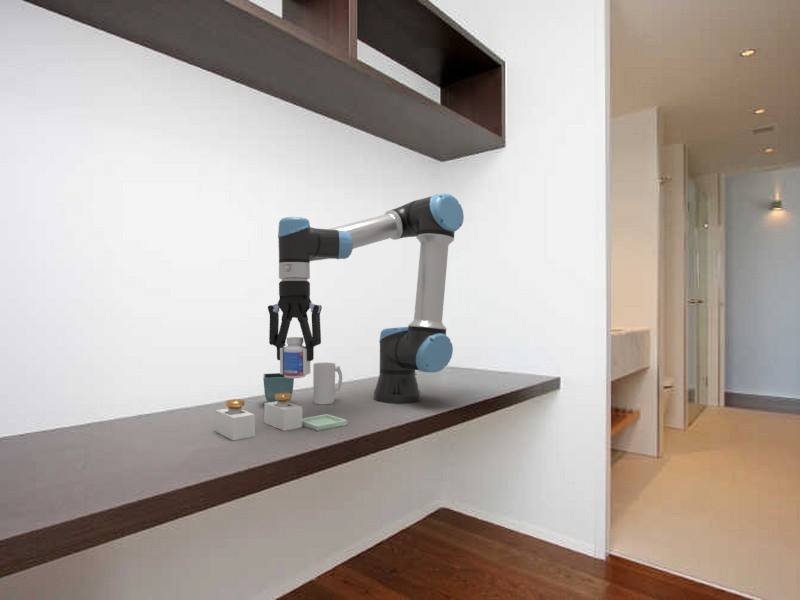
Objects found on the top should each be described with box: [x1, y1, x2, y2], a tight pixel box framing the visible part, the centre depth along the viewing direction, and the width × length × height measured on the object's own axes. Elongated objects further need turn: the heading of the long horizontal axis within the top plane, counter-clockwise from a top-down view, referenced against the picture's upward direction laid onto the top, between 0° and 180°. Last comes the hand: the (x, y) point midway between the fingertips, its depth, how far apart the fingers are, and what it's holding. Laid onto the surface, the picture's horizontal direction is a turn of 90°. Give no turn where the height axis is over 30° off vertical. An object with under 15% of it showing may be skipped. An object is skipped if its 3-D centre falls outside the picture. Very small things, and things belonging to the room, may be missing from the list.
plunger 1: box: [225, 398, 245, 415], centre depth 109 cm, size 4×4×7 cm
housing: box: [214, 401, 304, 441], centre depth 113 cm, size 18×10×5 cm, turn 133°
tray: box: [302, 413, 348, 432], centre depth 118 cm, size 9×9×1 cm
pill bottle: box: [284, 336, 307, 379], centre depth 116 cm, size 6×5×10 cm
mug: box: [312, 362, 343, 405], centre depth 146 cm, size 10×7×12 cm, turn 132°
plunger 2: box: [275, 393, 293, 407], centre depth 117 cm, size 4×4×7 cm
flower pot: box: [262, 372, 295, 403], centre depth 141 cm, size 9×9×9 cm
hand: (295, 373), depth 116 cm, fingers closed on pill bottle, 5 cm apart
